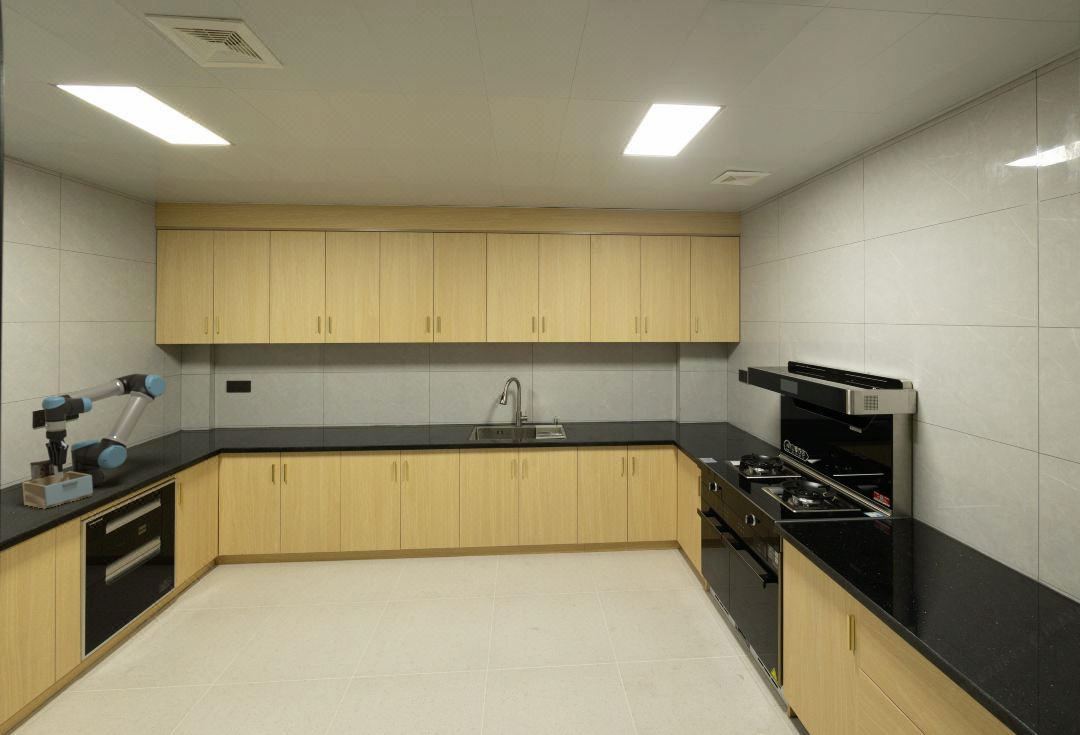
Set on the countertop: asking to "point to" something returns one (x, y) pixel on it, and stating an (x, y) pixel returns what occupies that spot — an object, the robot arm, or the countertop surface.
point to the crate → (35, 489)
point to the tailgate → (68, 490)
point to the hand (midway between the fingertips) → (59, 478)
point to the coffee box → (41, 469)
